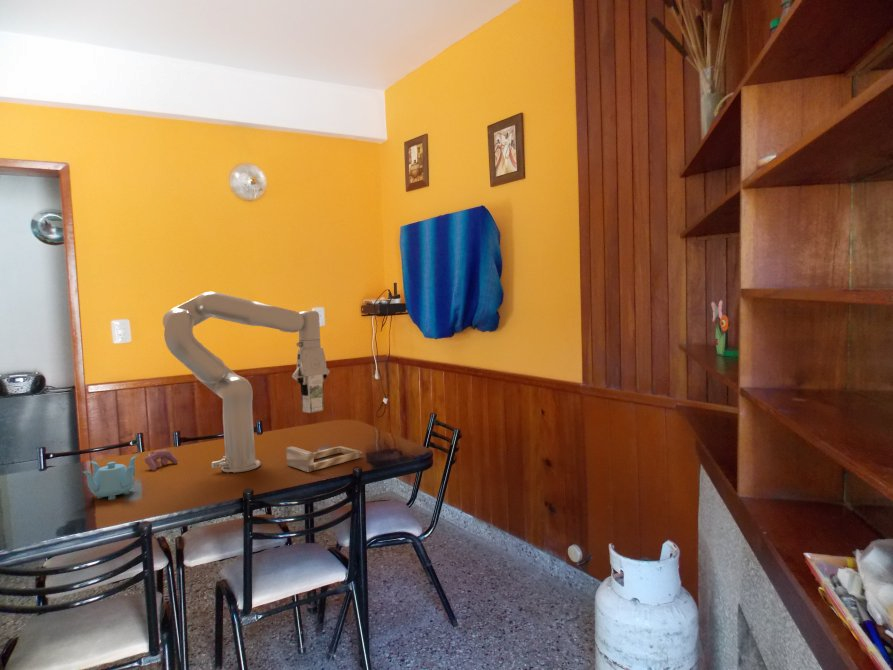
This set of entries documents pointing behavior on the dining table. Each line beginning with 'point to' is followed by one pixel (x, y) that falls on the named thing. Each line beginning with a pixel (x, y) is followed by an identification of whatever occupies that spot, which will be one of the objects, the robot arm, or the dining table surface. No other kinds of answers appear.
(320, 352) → the robot arm
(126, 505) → the dining table surface
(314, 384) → the syrup box
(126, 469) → the teapot
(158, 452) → the pink animal figurine
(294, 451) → the frame
